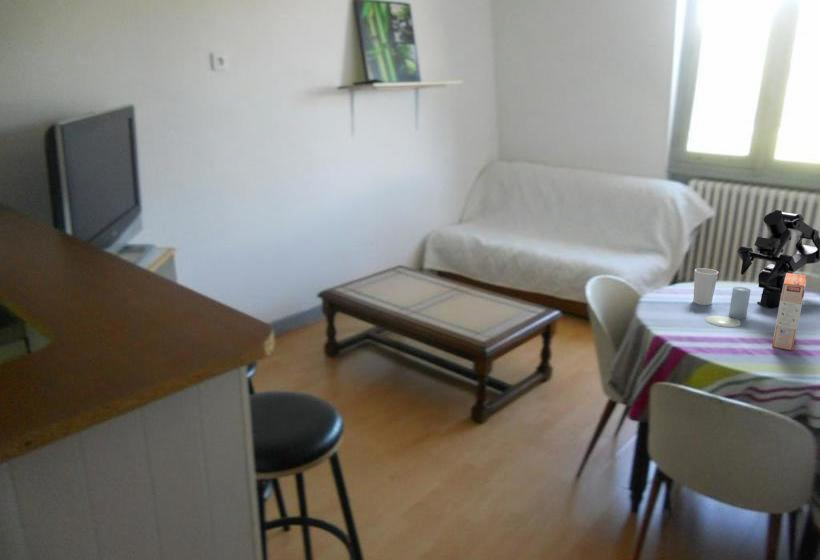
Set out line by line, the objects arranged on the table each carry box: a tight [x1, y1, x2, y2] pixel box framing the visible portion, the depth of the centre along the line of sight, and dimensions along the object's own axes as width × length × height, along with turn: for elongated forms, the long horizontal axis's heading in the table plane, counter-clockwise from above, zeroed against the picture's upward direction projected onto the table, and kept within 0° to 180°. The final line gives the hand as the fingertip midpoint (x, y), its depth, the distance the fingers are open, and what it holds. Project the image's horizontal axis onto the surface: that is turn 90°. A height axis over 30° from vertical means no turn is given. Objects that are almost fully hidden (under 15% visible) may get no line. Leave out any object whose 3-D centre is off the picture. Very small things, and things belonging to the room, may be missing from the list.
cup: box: [692, 267, 719, 306], centre depth 242 cm, size 8×8×12 cm
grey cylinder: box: [728, 286, 751, 320], centre depth 227 cm, size 6×6×10 cm
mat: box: [704, 315, 741, 328], centre depth 224 cm, size 11×11×1 cm
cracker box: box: [772, 273, 807, 352], centre depth 203 cm, size 14×6×21 cm, turn 148°
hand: (754, 277), depth 228 cm, fingers open, 9 cm apart
